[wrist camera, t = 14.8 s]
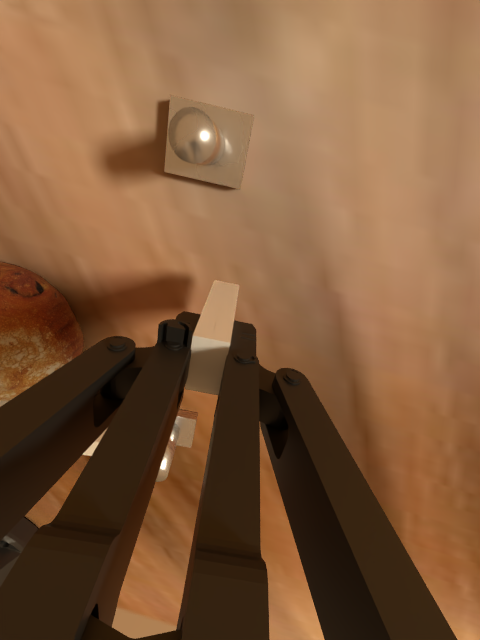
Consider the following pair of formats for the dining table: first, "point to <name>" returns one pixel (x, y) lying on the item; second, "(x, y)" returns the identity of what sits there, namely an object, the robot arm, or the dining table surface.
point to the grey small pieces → (207, 165)
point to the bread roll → (33, 330)
